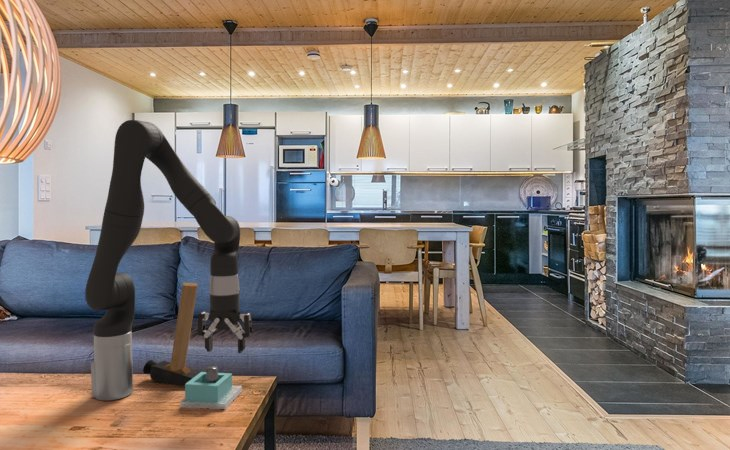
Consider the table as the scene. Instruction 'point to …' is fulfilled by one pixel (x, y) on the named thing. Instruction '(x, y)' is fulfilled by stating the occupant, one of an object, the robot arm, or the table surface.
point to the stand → (221, 404)
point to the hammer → (177, 344)
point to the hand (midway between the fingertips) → (225, 351)
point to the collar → (208, 387)
